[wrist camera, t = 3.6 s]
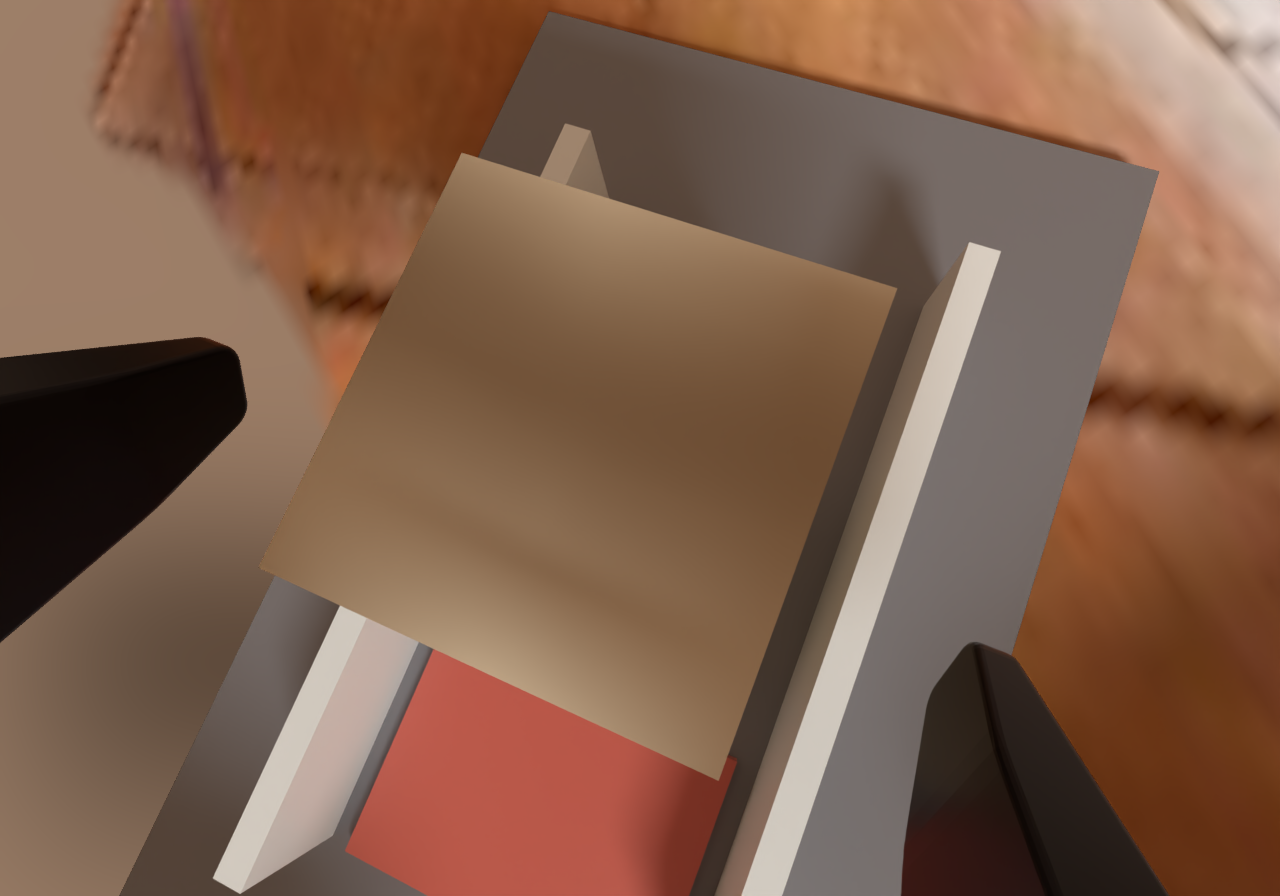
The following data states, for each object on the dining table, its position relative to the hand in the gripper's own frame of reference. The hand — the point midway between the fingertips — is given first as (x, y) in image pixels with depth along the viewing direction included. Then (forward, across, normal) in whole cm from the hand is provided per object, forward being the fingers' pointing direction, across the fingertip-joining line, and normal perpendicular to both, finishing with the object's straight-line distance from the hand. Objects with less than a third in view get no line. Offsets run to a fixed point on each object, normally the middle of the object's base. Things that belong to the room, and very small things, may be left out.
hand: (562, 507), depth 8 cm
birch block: (+6, 0, +5) cm, 8 cm away
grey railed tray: (+6, 0, +6) cm, 9 cm away
